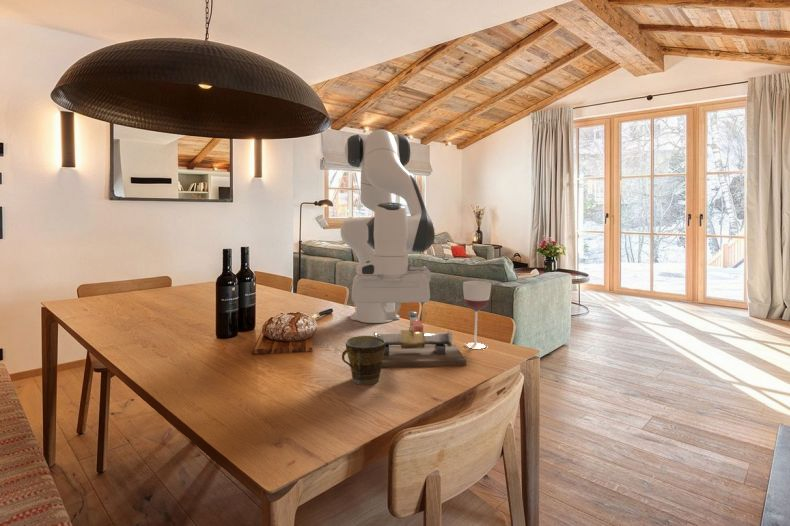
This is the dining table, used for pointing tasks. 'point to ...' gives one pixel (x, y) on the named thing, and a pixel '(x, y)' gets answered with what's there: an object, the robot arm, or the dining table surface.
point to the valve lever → (415, 322)
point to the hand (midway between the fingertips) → (390, 319)
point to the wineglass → (476, 302)
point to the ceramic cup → (365, 358)
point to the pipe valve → (417, 340)
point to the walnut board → (423, 357)
